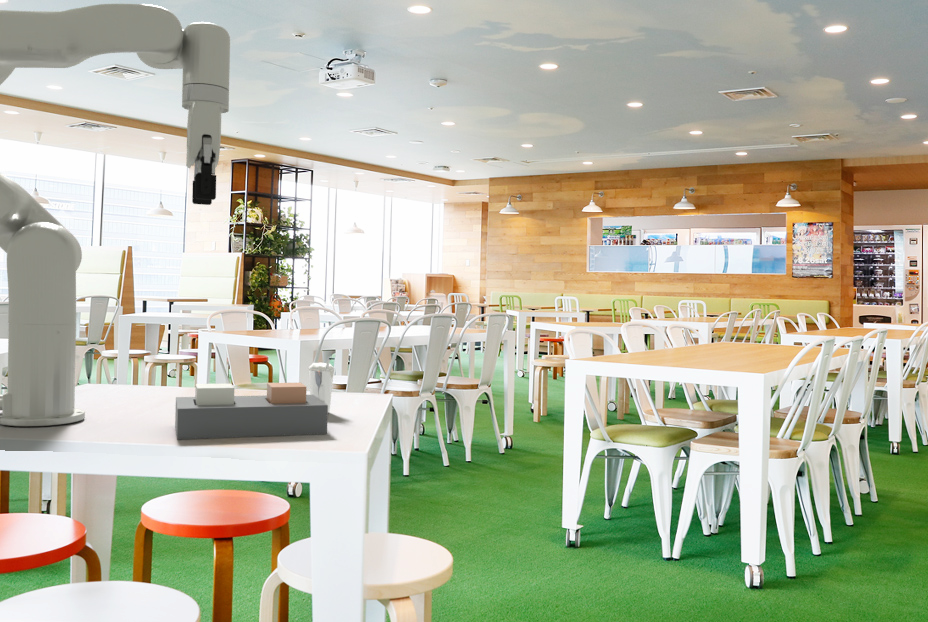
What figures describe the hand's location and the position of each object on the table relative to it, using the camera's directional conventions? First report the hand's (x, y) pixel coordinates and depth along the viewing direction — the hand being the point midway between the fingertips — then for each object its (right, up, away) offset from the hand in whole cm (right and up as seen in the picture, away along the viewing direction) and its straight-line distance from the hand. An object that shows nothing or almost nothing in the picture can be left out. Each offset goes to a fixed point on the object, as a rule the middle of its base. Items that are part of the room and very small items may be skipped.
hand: (203, 201), depth 134 cm
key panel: (+10, -37, -9) cm, 40 cm away
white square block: (+5, -34, -11) cm, 36 cm away
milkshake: (+18, -37, +9) cm, 42 cm away
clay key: (+16, -34, -7) cm, 39 cm away
